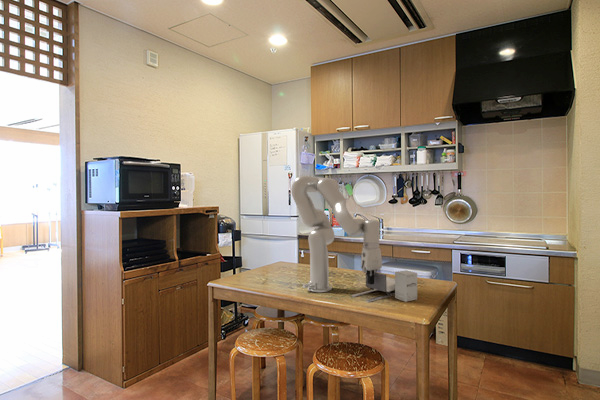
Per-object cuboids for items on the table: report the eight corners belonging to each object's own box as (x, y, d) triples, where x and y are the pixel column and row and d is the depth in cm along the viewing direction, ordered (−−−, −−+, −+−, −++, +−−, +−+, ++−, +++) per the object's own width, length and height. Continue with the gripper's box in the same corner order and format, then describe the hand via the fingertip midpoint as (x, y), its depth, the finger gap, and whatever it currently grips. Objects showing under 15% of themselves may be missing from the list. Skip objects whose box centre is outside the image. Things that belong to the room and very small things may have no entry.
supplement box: (405, 302, 160) (405, 274, 160) (394, 298, 167) (394, 271, 167) (417, 299, 164) (417, 272, 164) (406, 295, 170) (406, 269, 170)
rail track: (370, 302, 160) (370, 294, 160) (348, 296, 171) (348, 287, 171) (409, 292, 176) (409, 284, 176) (386, 286, 188) (386, 279, 188)
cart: (386, 296, 166) (386, 275, 166) (364, 290, 177) (364, 270, 177) (406, 291, 175) (406, 270, 175) (384, 285, 186) (384, 266, 186)
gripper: (365, 248, 162) (365, 287, 163) (387, 245, 171) (387, 283, 171) (354, 246, 168) (354, 284, 169) (376, 243, 177) (375, 279, 177)
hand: (370, 283), depth 170 cm, fingers closed
